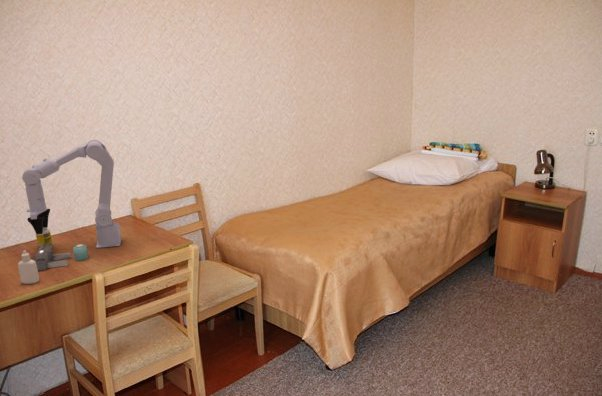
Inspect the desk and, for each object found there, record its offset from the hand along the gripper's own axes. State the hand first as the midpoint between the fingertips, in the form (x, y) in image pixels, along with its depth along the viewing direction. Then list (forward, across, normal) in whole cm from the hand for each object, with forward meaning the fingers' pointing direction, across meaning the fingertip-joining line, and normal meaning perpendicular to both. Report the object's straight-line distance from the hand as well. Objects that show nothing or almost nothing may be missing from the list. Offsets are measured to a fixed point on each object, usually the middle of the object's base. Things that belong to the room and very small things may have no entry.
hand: (42, 230), depth 188 cm
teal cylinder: (+10, +10, +15) cm, 21 cm away
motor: (+10, +12, +6) cm, 16 cm away
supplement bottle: (+10, -7, -2) cm, 12 cm away
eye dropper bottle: (+10, +27, +1) cm, 29 cm away
